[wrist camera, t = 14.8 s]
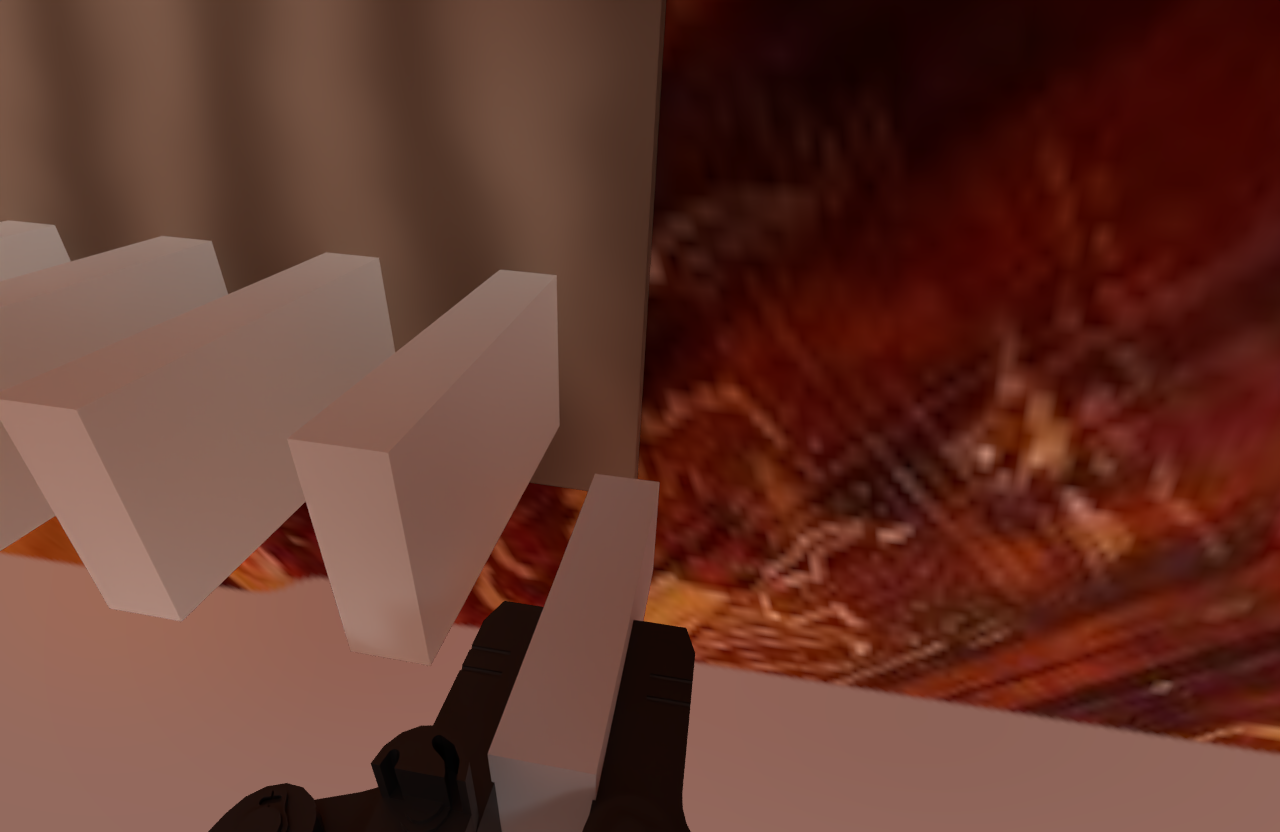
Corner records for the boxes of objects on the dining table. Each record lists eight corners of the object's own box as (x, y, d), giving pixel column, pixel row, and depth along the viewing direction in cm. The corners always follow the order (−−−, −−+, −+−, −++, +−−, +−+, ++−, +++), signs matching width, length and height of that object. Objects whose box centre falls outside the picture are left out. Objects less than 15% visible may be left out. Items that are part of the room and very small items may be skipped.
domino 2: (378, 257, 21) (76, 409, 12) (404, 405, 24) (181, 621, 15) (326, 252, 21) (-13, 397, 12) (358, 399, 24) (109, 608, 15)
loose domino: (556, 275, 20) (387, 452, 11) (559, 425, 23) (430, 665, 14) (499, 269, 20) (286, 438, 11) (510, 419, 23) (350, 651, 14)
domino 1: (211, 241, 22) (-202, 370, 12) (257, 386, 25) (-46, 580, 15) (162, 236, 22) (-281, 360, 12) (213, 380, 25) (-112, 568, 16)
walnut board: (675, -148, 15) (670, -162, 14) (637, 482, 25) (633, 497, 24) (-532, -171, 20) (-590, -182, 19) (-151, 373, 30) (-179, 382, 29)
